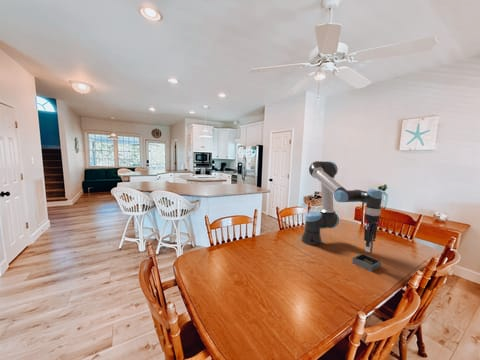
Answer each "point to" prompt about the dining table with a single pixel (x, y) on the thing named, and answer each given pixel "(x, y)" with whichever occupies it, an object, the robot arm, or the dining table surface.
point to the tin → (367, 262)
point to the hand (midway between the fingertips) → (368, 250)
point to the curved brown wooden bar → (371, 244)
